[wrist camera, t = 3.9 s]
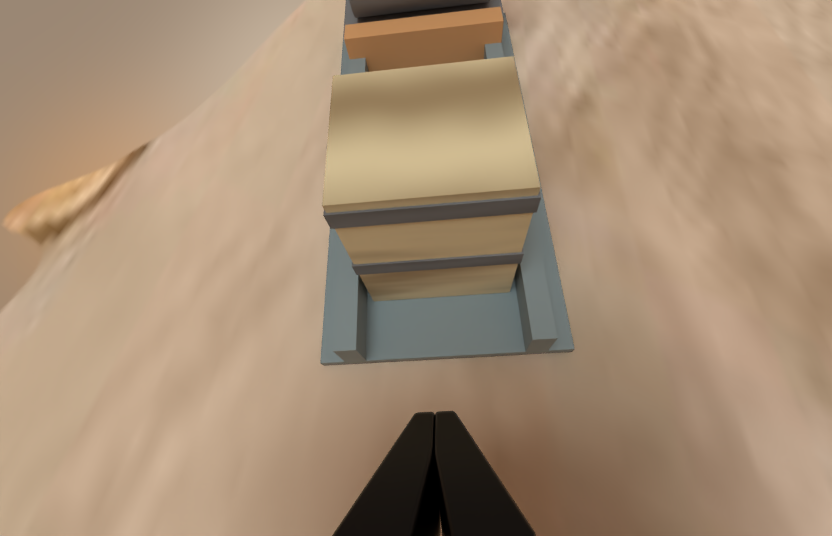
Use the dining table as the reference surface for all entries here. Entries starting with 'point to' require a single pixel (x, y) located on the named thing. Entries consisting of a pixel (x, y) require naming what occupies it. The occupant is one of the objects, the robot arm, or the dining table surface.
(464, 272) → the crate
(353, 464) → the dining table surface
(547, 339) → the bay
